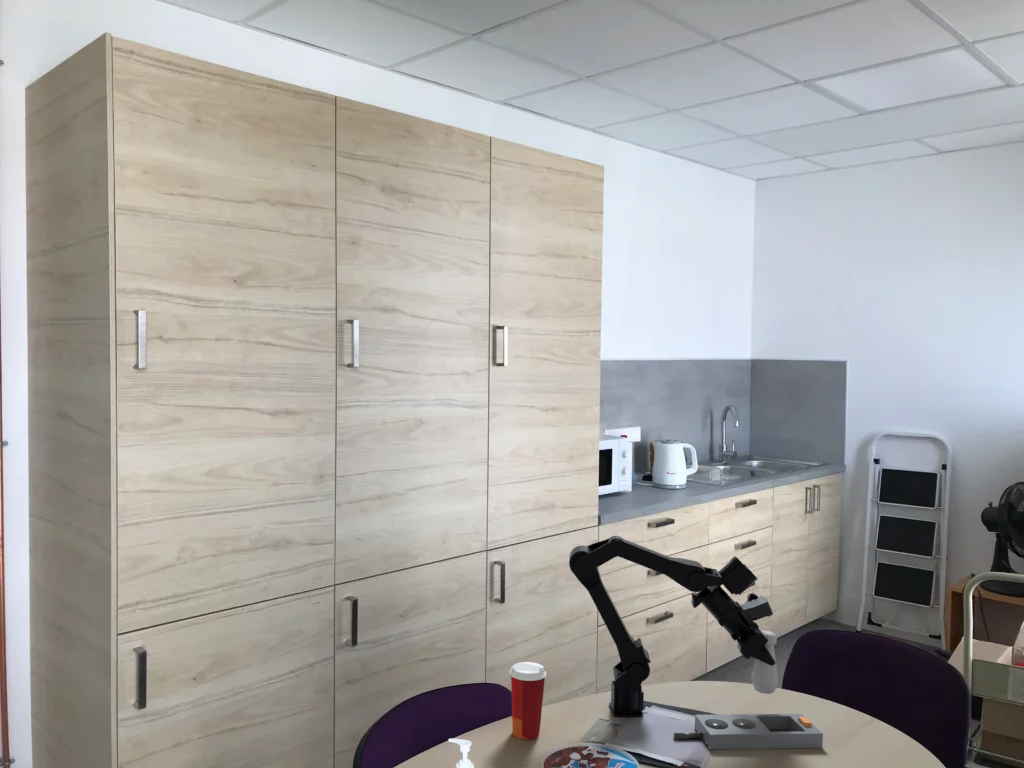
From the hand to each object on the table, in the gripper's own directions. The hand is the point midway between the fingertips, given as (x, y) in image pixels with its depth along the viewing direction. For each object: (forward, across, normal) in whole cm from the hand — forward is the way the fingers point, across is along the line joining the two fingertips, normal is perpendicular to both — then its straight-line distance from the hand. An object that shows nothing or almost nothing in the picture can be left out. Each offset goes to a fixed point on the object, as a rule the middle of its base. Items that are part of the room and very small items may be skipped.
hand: (771, 661), depth 177 cm
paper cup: (-28, -16, +48) cm, 57 cm away
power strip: (+4, -10, +15) cm, 18 cm away
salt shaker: (+4, 0, +6) cm, 7 cm away
